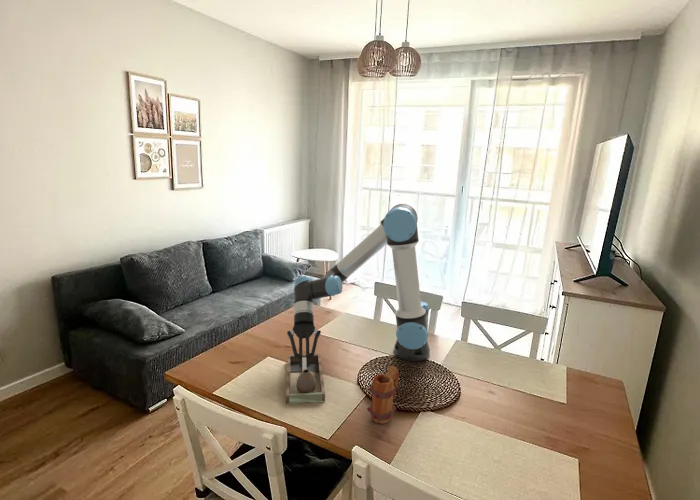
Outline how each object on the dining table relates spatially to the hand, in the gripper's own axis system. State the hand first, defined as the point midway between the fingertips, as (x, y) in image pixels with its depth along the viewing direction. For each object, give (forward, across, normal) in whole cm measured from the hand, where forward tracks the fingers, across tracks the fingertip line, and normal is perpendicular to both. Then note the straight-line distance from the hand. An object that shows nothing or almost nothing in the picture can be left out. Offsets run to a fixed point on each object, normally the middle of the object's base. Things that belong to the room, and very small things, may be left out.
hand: (304, 376), depth 142 cm
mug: (+16, -26, +10) cm, 32 cm away
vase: (+6, 0, 0) cm, 6 cm away
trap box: (0, 0, -6) cm, 6 cm away
